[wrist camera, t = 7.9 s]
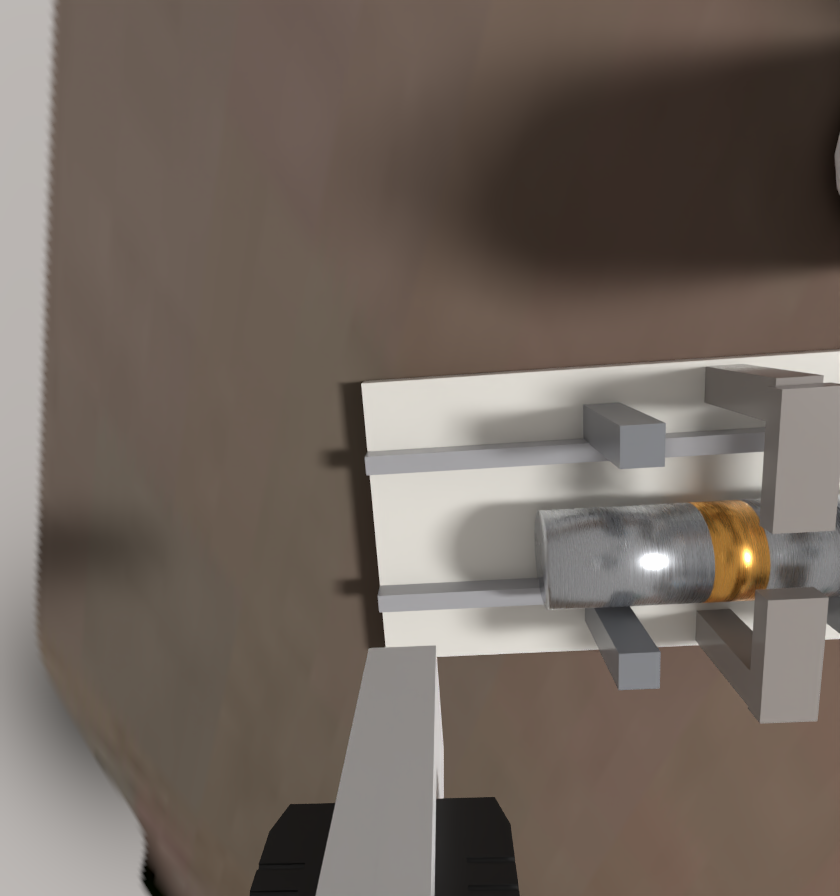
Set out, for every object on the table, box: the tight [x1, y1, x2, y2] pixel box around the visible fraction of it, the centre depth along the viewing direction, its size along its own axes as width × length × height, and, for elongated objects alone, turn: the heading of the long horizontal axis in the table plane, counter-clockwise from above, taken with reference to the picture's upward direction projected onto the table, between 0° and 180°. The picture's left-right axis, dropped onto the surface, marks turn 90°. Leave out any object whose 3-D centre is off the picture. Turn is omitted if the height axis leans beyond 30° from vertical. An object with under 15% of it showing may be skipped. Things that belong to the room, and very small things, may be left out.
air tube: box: [534, 494, 840, 610], centre depth 23 cm, size 14×4×4 cm, turn 94°
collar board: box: [361, 349, 840, 723], centre depth 22 cm, size 13×24×7 cm, turn 94°
